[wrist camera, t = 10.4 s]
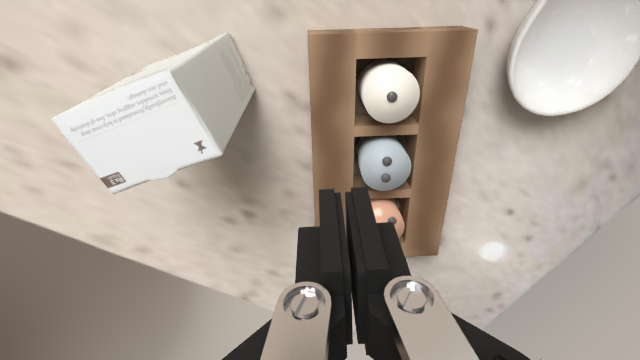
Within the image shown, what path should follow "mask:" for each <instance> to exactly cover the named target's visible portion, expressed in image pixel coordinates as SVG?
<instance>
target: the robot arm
mask: <svg viewBox="0 0 640 360" xmlns="http://www.w3.org/2000/svg"><path fill="white" fill-rule="evenodd" d="M345 205H346V230H345V223H344V215H343V207H342V200H341V193H340V192H337V193H335V192H334V189H319V216H320V226H317V227H301V228H299V230H298V245H297V262H296V279H295V284H293V285H291V286H289V287H288V288H286V289H285V290H284V291H283V292H282V293H281V295H280V297H279V299H278V301H277V304H276V308H275V311H274V315H273V318H272V319H271V320H270V321H268V322H267V323H266V324H265V325H263V326H262V327H261V328H260V329H259V330H257V331H256V332H255V333H254V334H252V335H251V336H250V337H249V338H248V339H246V340H245V341H244V342H243V343H241V344H240V345H239V346H238V347H237V348H235V349H234V350H233V351H232V352H230V353H229V354H228V355H227V356H226V357H224V358H223V359H222V360H345V359H346V358H347V344H352V343H353V339H352V300H353V308H354V316H355V324H356V332H357V340H358V344H365V349H366V355H369V356H370V357H371V358H373V359H374V360H530V359H529V358H528V357H526V356H525V355H523V354H522V353H520V352H519V351H517V350H515V349H514V348H512V347H510V346H508V345H507V344H505V343H503V342H501V341H500V340H498V339H496V338H494V337H493V336H491V335H489V334H487V333H486V332H484V331H482V330H480V329H479V328H477V327H475V326H474V325H472V324H470V323H468V322H467V321H465V320H463V319H461V318H460V317H458V316H456V315H454V314H453V313H451V312H450V311H449V309H448V307H447V306H446V304H445V302H444V301H443V299H442V297H441V296H440V294H439V293H438V291H437V290H436V289H435V287H434V286H433V285H432V284H430V283H429V282H428V281H426V280H424V279H421V278H419V277H414V276H411V274H410V271H409V268H408V265H407V262H406V259H405V256H404V253H403V250H402V247H401V244H400V241H399V238H398V235H397V232H396V229H395V226H394V224H393V222H383V223H376V219H375V215H374V212H373V208H372V204H371V200H370V196H369V193H368V189H367V187H351V192H345ZM351 292H352V297H351ZM540 360H548V359H540Z"/></svg>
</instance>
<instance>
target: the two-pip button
mask: <svg viewBox="0 0 640 360" xmlns="http://www.w3.org/2000/svg"><path fill="white" fill-rule="evenodd" d="M356 158H357V161H358V165H359V168H360V171H361V175H362V178H363V180H364V182H365V183H366V184H367V185H368V186H369V187H371V188H373V189H375V190H379V191H389V190H392V189H395V188H397V187H399V186H400V185H402V184H403V183H404V182H405V181H406V180H407V178H408V177H409V175H410V172H411V161H410V158H409V156H408V154H407V153H406V151H405V150H404V148H403V146H402V145H401V143H400V142H399V140H398V138H397V137H396V136H395V135H387V136H363V137H362V138H361V139H360V140H359V142H358V143H357V146H356Z"/></svg>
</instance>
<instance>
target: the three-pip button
mask: <svg viewBox="0 0 640 360" xmlns="http://www.w3.org/2000/svg"><path fill="white" fill-rule="evenodd" d="M370 200H371V204H372V208H373V212H374V215H375V219H376V223H383V222H393V224H394V226H395V229H396V232H397V235H398V238H400V237H401V235H402V234H403V231H404V226H405V225H404V221H403V218H402V216H401V213H400V211H399V209H398V206H397V204H396V202H395V199H394V198H385V199H370Z"/></svg>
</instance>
